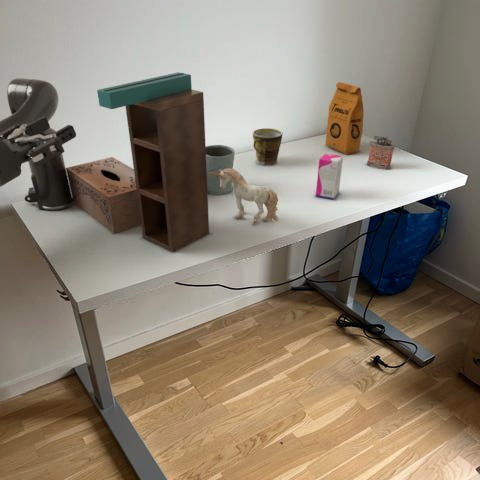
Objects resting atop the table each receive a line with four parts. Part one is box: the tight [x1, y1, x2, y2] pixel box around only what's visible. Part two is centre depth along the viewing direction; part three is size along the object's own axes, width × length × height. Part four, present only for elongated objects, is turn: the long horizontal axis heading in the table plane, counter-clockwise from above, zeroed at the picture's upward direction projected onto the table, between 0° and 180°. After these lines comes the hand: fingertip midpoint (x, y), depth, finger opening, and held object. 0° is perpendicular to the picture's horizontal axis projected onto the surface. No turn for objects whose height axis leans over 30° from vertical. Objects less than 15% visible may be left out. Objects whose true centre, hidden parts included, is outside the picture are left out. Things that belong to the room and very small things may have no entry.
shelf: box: [125, 89, 210, 253], centre depth 117 cm, size 13×11×34 cm
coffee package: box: [324, 81, 364, 156], centre depth 175 cm, size 10×12×22 cm
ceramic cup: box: [252, 127, 283, 167], centre depth 167 cm, size 13×10×10 cm
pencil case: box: [96, 71, 193, 110], centre depth 103 cm, size 22×4×3 cm, turn 139°
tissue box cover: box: [65, 156, 141, 234], centre depth 137 cm, size 26×14×10 cm, turn 39°
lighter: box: [366, 134, 395, 170], centre depth 165 cm, size 8×3×10 cm, turn 58°
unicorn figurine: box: [207, 168, 280, 225], centre depth 132 cm, size 7×20×13 cm, turn 74°
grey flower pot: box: [206, 144, 236, 196], centre depth 148 cm, size 10×10×12 cm
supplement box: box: [315, 152, 344, 200], centre depth 145 cm, size 6×6×12 cm
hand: (60, 125), depth 91 cm, fingers open, 8 cm apart
